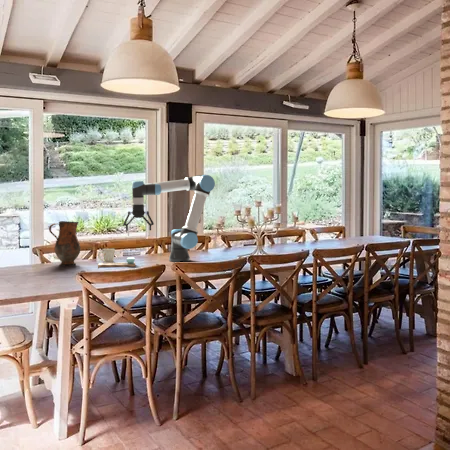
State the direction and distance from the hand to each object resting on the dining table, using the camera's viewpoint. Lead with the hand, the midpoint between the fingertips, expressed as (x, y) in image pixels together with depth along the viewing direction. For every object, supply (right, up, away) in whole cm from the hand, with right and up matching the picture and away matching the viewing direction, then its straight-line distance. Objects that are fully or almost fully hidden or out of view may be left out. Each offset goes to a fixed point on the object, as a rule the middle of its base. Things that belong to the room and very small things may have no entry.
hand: (138, 235), depth 340 cm
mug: (-26, -20, +16) cm, 36 cm away
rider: (-5, -20, -1) cm, 21 cm away
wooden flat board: (-14, -21, -2) cm, 26 cm away
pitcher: (-52, -21, +6) cm, 56 cm away
